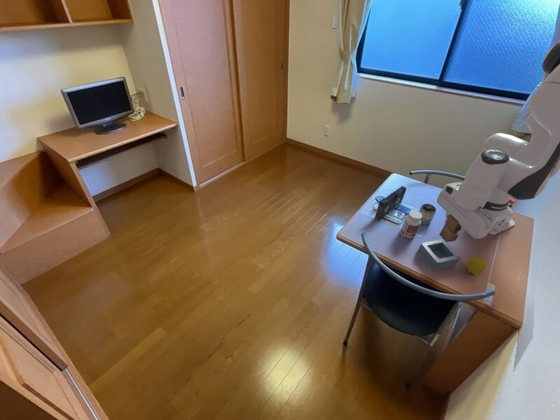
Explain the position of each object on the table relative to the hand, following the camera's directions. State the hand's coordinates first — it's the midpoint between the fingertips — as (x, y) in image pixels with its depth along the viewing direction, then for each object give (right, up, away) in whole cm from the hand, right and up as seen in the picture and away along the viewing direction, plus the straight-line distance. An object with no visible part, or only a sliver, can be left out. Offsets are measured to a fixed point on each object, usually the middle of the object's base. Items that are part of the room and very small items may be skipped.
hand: (452, 228), depth 101 cm
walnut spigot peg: (0, -4, +3) cm, 5 cm away
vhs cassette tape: (-10, +6, +33) cm, 35 cm away
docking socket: (0, -13, +11) cm, 17 cm away
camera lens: (+4, +2, +28) cm, 29 cm away
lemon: (+11, -17, +6) cm, 21 cm away
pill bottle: (-6, -4, +22) cm, 23 cm away
